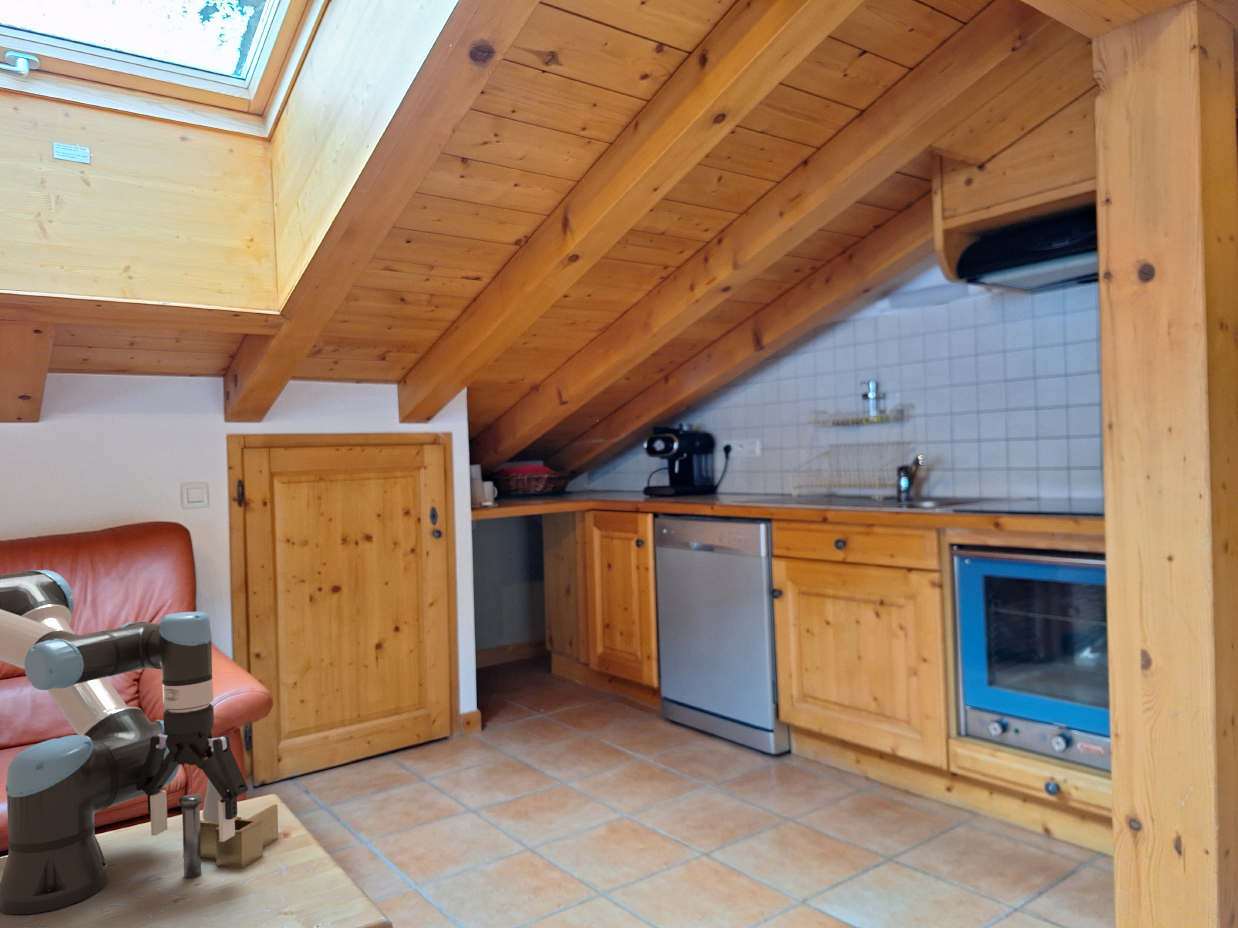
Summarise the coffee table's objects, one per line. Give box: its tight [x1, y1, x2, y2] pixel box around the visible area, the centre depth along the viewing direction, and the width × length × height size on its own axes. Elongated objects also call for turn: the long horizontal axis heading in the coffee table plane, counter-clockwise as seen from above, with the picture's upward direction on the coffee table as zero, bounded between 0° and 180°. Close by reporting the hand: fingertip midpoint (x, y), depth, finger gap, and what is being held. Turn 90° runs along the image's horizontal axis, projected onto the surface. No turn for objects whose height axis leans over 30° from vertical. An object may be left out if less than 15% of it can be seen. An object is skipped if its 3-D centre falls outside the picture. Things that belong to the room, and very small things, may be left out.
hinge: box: [200, 803, 279, 869], centre depth 156 cm, size 12×12×6 cm
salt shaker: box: [202, 778, 229, 822], centre depth 167 cm, size 6×6×13 cm
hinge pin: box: [178, 793, 204, 879], centre depth 146 cm, size 4×4×13 cm
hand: (193, 835), depth 146 cm, fingers open, 13 cm apart
